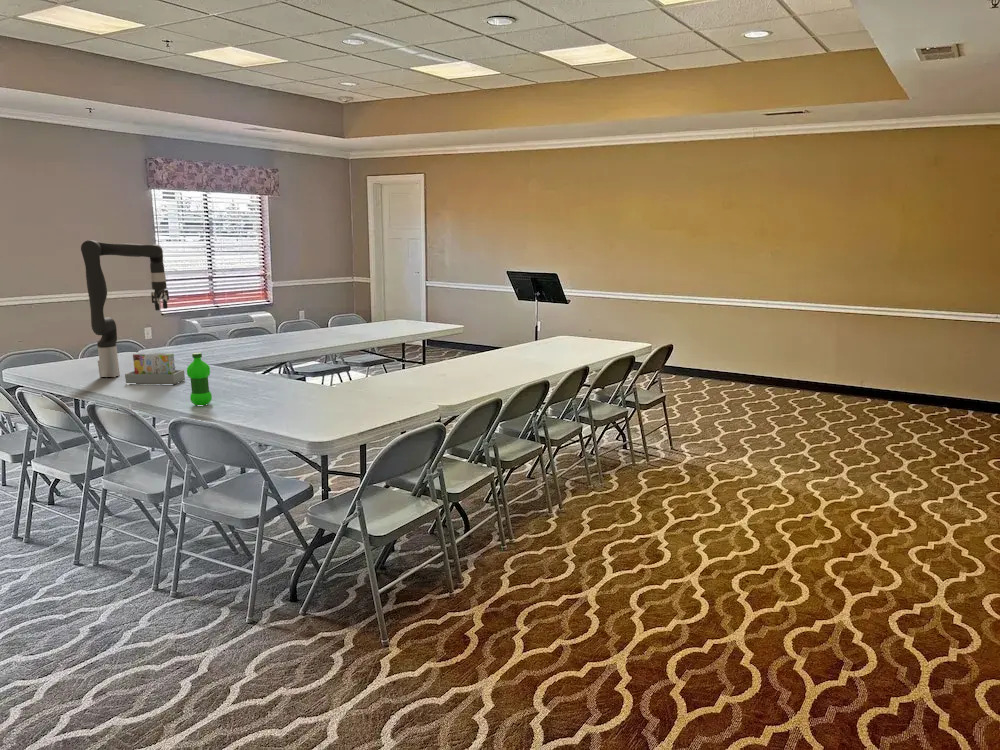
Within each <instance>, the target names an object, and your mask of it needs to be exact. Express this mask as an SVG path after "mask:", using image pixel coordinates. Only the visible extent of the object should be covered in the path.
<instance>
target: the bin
mask: <svg viewBox="0 0 1000 750" xmlns="http://www.w3.org/2000/svg"><path fill="white" fill-rule="evenodd" d="M185 377H186V376H185V369H175V373H174V374H135V370H132V371H129V372H127V373H125V374H124V378H125V384H126V383H136V384H176V383H178V382H180V381H182V380H185V379H186V378H185ZM185 381H186V380H185ZM180 383H181V382H180ZM178 384H179V383H178ZM176 385H177V384H176Z"/></svg>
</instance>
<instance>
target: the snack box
mask: <svg viewBox="0 0 1000 750" xmlns="http://www.w3.org/2000/svg"><path fill="white" fill-rule="evenodd" d="M132 361H133V369H134V370H133V371H135V374H174V373H175V370H176V366H175V365H176V364H175V354H174V353H171V352H170V353H166V352H165V353H164V352H162V353H161V352H136V353H133V354H132Z"/></svg>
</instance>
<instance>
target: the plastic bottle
mask: <svg viewBox="0 0 1000 750" xmlns="http://www.w3.org/2000/svg"><path fill="white" fill-rule="evenodd" d="M191 354H192V356H191V357H192V358H193V361H192V362H191V363H190V364H188V366H187V369H186V375H187V377H188V378H190V385H191V386H190V387H191V393H190V397H189V399H190V402H191V403H192V404H193V405H194V406H196V405H206V404H208V405H209V404H210V403H211V401H212V399H213V396H212V393H211V390H210V386H209V385H210V384H209V376H210V374H211V370H210V369H211V367H210V365H209V364H207V363H206V362H205V361H203V360H202V358H203V354H202V352H194V353H193V352H192V353H191ZM206 406H207V405H206Z"/></svg>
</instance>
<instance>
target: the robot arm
mask: <svg viewBox="0 0 1000 750" xmlns="http://www.w3.org/2000/svg"><path fill="white" fill-rule="evenodd" d="M80 251H81V255H82V258H83V261H84V262H83V263H84V266H85V279H86V286H87V287H86V288H87V294H88V299H89V307H90V324H91V330H92V331H93V333H94V334H95V335H97V336H101V337H100V339H99V340H98V341H97V343H96V344H97V355H98V360H97V366H98V373H99V378H101V377H114V378H117V377H116V376H118V377H120V376H119V375H121V374H120V365H119V359H118V358H119V357H118V356H119V355H118V350H117V349H118V348H117V341H118V333H117V329H118V328H117V323H116V321H115V320H114V319H113V318H112V317H109V316H105V315H104V306H105V303H106V300H107V298H108V297H107V296H108V289H107V281H106V279H105V278H106V277H105V275H104V272H103V270H102V266H101V256H120V257H134V258H138V257H139V258H140V257H143V258H149V261H150V263H149V264H150V265H149V267H150V282H151V289H152V290H153V291H151V293H150V296H151V297H150V298H151V303H152V304H154V308H155V309H154V310H155V311H160V310H161V309H160V308H161V307H160V301H162V306H163V307H162V308H163V309H164V310H165V309H169V308H168V302H169V301H170V296H169V290H168V289H167V288H168V287H167V279H166V273H165V265H164V253H163V252H164V251H163V247H161V245H159V244H139V243H107V242H101V241H96V240H93V239H92V240H91V239H89V240H88V239H87V240H85V241H83V242H82V244H81V245H80Z"/></svg>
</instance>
